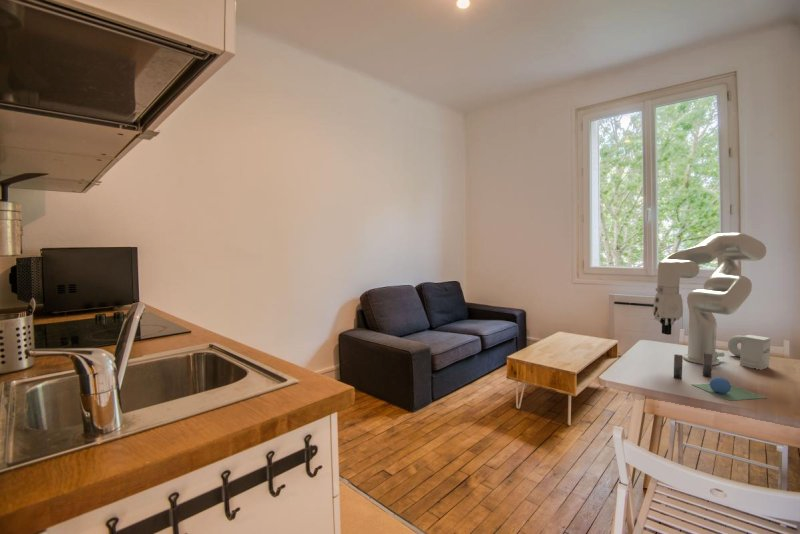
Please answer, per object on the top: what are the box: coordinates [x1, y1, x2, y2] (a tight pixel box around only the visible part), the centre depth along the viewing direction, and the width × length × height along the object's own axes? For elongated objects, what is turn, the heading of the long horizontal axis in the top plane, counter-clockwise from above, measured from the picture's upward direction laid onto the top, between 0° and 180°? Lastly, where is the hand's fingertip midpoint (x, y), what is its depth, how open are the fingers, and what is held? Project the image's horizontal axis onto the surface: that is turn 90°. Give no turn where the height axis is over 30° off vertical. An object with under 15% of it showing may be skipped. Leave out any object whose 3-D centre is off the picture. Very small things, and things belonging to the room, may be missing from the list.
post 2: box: [702, 353, 713, 379], centre depth 148 cm, size 3×3×9 cm
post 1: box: [673, 354, 684, 381], centre depth 147 cm, size 3×3×9 cm
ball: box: [709, 376, 732, 394], centre depth 132 cm, size 6×6×6 cm
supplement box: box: [739, 334, 772, 371], centre depth 160 cm, size 7×7×13 cm
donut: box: [727, 335, 743, 358], centre depth 173 cm, size 10×4×10 cm, turn 18°
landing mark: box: [692, 383, 767, 402], centre depth 134 cm, size 14×14×1 cm
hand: (666, 333), depth 160 cm, fingers closed
